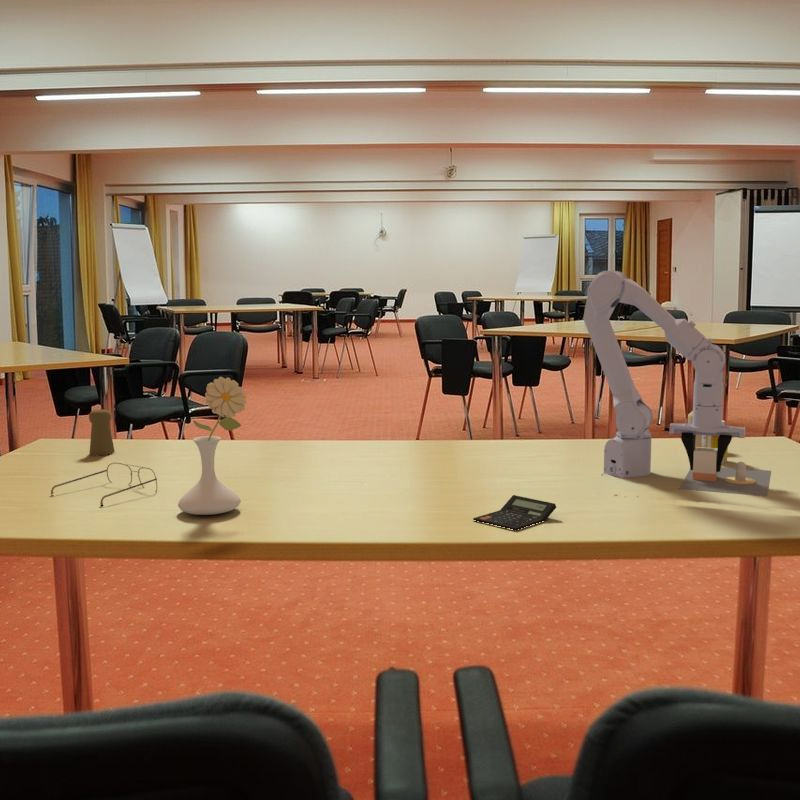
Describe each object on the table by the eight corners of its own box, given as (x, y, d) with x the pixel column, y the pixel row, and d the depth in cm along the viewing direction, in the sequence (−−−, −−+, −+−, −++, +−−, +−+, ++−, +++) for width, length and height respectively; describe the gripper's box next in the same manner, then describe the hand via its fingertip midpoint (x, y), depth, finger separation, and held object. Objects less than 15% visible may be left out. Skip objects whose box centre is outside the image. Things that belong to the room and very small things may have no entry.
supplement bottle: (731, 465, 197) (733, 420, 196) (718, 469, 194) (720, 423, 192) (709, 461, 202) (711, 417, 200) (695, 465, 198) (697, 420, 197)
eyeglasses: (163, 492, 179) (161, 468, 178) (101, 508, 167) (99, 483, 166) (112, 483, 188) (111, 460, 187) (50, 497, 176) (49, 473, 175)
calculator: (473, 522, 154) (473, 506, 154) (514, 510, 162) (514, 494, 162) (515, 533, 147) (515, 515, 147) (556, 519, 155) (556, 503, 155)
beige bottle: (712, 448, 217) (714, 408, 215) (707, 452, 212) (708, 411, 211) (689, 446, 220) (691, 407, 218) (684, 450, 215) (685, 410, 214)
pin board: (767, 501, 165) (768, 475, 165) (678, 493, 172) (679, 468, 171) (770, 475, 187) (771, 452, 186) (692, 469, 194) (693, 447, 193)
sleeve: (715, 481, 178) (716, 452, 177) (692, 479, 179) (693, 450, 179) (717, 476, 182) (718, 448, 181) (695, 475, 183) (696, 446, 183)
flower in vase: (179, 522, 155) (173, 382, 151) (177, 506, 166) (171, 375, 162) (253, 516, 158) (249, 379, 155) (246, 501, 169) (242, 372, 166)
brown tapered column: (89, 452, 220) (87, 408, 219) (115, 450, 222) (112, 407, 221) (88, 456, 215) (86, 412, 213) (114, 454, 217) (112, 410, 215)
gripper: (747, 403, 179) (744, 468, 181) (673, 400, 185) (671, 463, 187) (745, 408, 173) (742, 475, 175) (668, 404, 179) (666, 470, 181)
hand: (705, 470), depth 180 cm, fingers closed on sleeve, 4 cm apart
